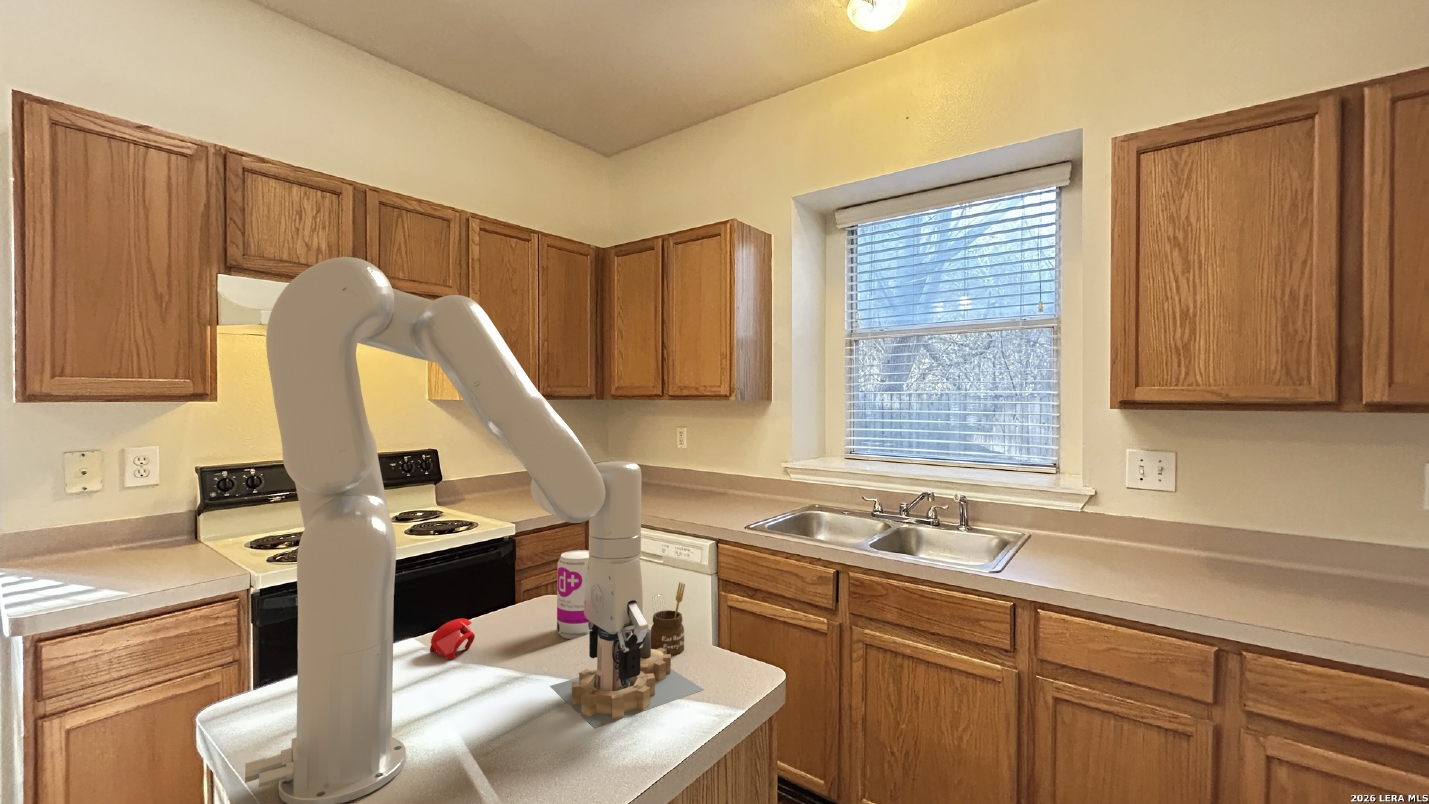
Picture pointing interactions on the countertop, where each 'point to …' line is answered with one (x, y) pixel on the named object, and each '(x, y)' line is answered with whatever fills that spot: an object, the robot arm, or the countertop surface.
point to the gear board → (664, 693)
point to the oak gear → (612, 695)
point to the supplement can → (572, 594)
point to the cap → (452, 638)
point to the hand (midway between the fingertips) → (613, 665)
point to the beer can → (609, 661)
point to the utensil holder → (668, 628)
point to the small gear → (654, 659)
